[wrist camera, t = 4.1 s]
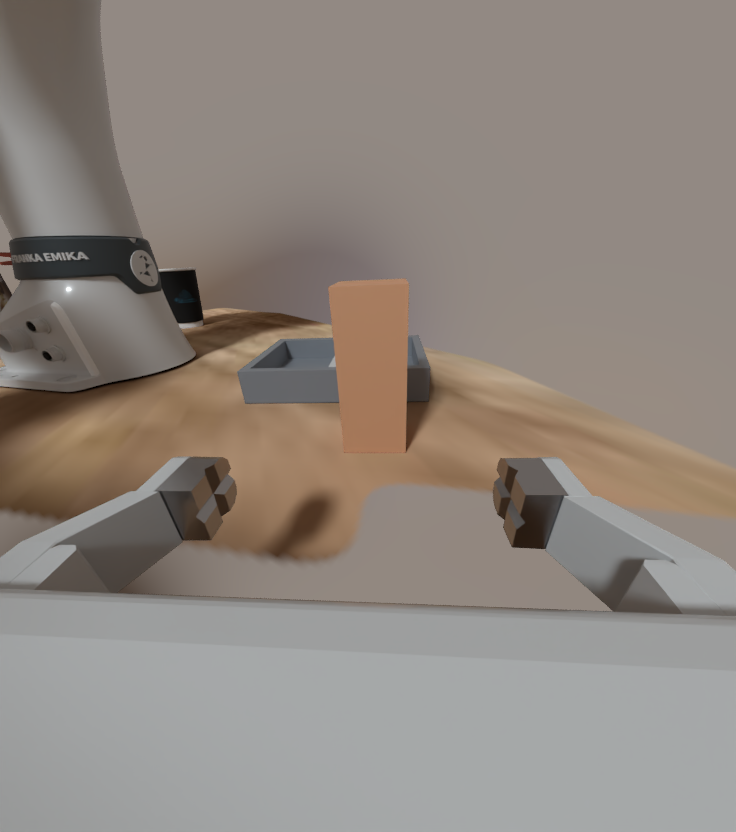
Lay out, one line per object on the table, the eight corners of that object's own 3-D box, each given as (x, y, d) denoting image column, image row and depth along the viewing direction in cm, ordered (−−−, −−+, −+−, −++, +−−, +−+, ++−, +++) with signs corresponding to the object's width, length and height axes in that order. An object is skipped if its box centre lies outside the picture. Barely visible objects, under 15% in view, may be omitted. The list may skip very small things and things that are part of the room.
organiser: (245, 403, 27) (237, 371, 26) (284, 363, 37) (280, 339, 36) (428, 401, 26) (430, 367, 25) (417, 360, 36) (418, 335, 35)
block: (344, 452, 20) (328, 287, 15) (351, 422, 23) (340, 281, 19) (405, 452, 19) (408, 283, 15) (403, 422, 23) (405, 278, 18)
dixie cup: (192, 330, 60) (173, 268, 55) (160, 329, 62) (139, 270, 57) (219, 322, 67) (204, 267, 61) (190, 322, 69) (173, 268, 63)
